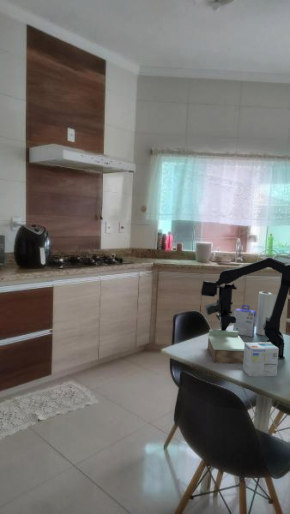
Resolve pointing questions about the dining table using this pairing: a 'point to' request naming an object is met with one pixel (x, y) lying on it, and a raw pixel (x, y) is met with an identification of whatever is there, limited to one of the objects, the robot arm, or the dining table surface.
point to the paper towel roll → (264, 310)
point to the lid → (226, 340)
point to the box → (226, 355)
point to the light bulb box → (260, 359)
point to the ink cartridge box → (244, 321)
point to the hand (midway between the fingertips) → (222, 332)
